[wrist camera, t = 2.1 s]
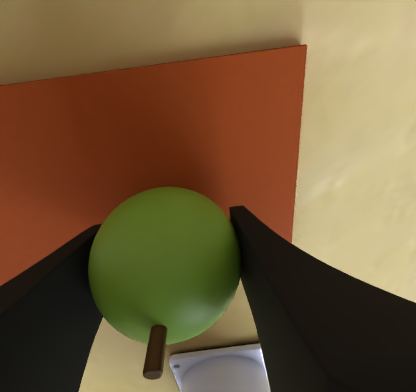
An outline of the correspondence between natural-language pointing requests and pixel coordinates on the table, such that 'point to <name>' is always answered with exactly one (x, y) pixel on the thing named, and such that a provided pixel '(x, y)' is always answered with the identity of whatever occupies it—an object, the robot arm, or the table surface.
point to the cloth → (147, 145)
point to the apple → (164, 268)
